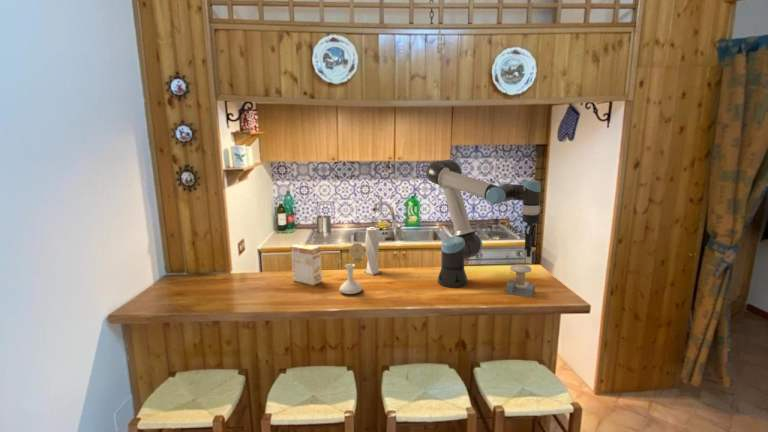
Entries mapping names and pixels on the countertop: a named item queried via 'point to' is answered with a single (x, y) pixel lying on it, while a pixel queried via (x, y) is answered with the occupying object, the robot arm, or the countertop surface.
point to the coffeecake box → (306, 263)
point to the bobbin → (520, 275)
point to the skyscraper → (372, 250)
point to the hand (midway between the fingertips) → (529, 261)
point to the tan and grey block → (532, 255)
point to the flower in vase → (350, 284)
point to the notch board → (520, 292)
